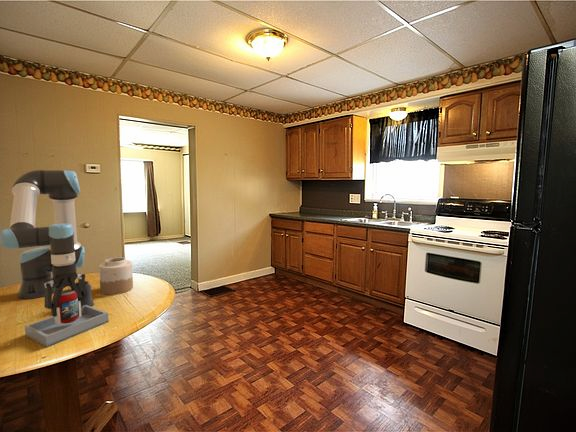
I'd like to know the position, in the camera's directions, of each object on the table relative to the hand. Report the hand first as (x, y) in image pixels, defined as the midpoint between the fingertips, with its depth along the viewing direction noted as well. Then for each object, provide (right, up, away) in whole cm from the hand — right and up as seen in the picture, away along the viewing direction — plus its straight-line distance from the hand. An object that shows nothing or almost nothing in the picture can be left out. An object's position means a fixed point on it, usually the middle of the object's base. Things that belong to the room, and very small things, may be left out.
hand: (68, 319), depth 118 cm
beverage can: (0, -1, 0) cm, 1 cm away
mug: (-10, -1, +22) cm, 25 cm away
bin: (0, -4, 0) cm, 4 cm away
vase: (-5, +1, +42) cm, 43 cm away
